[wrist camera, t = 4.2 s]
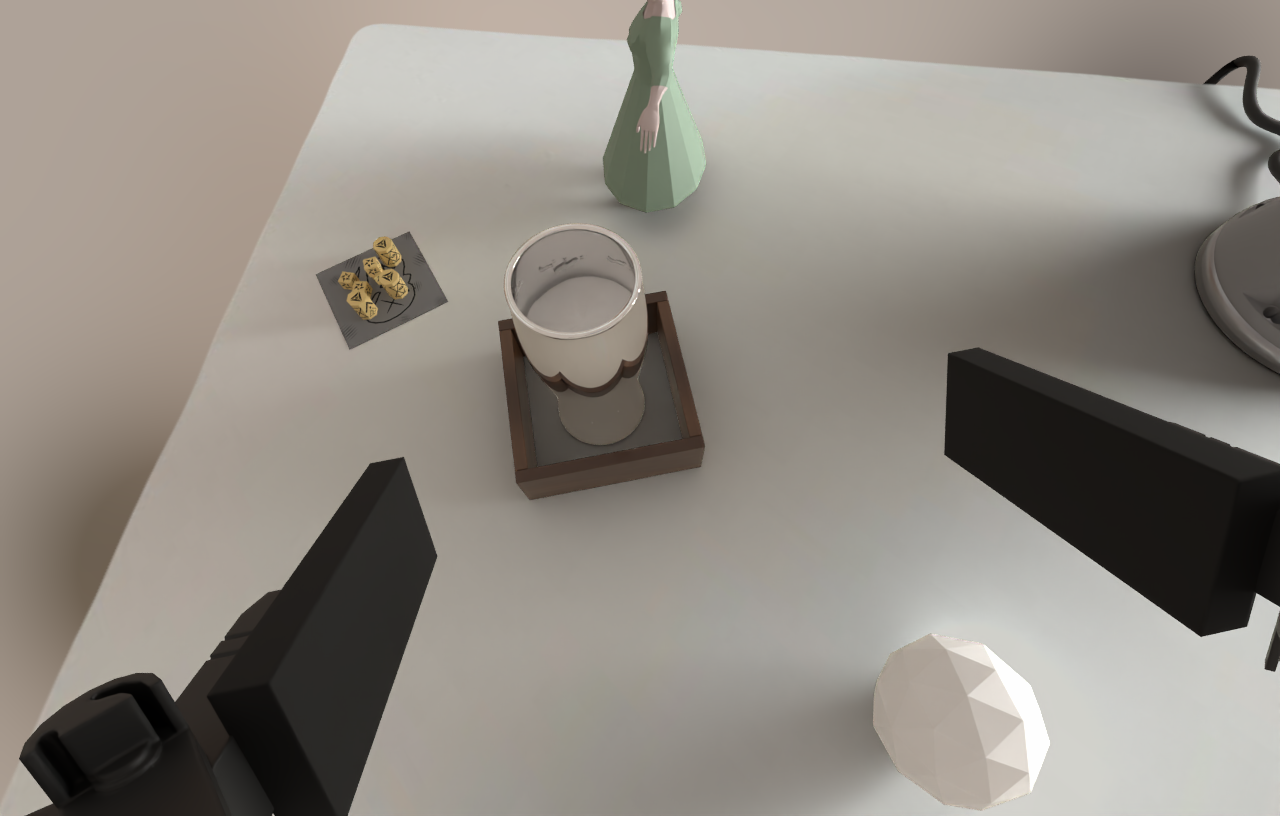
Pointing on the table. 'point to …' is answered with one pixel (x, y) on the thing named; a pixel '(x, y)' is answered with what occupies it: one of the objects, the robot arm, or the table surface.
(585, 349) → the beer glass
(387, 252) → the dice set
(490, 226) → the table surface
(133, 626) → the table surface
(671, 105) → the character figurine
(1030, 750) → the geometric ball
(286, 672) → the robot arm
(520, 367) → the tray
